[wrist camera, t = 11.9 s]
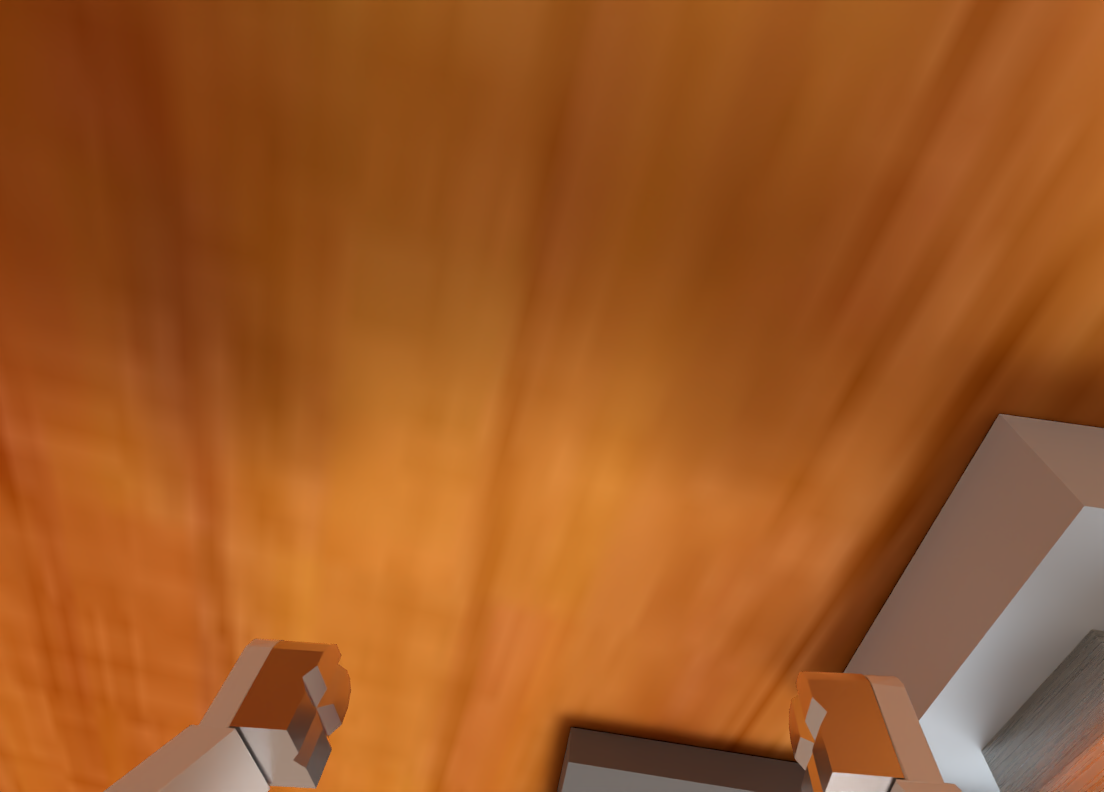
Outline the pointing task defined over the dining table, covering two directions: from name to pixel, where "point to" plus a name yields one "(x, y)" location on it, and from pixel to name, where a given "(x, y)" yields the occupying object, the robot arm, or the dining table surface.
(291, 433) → the dining table surface
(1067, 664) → the white boxy piece
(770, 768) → the pad
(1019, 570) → the grey slotted tray
